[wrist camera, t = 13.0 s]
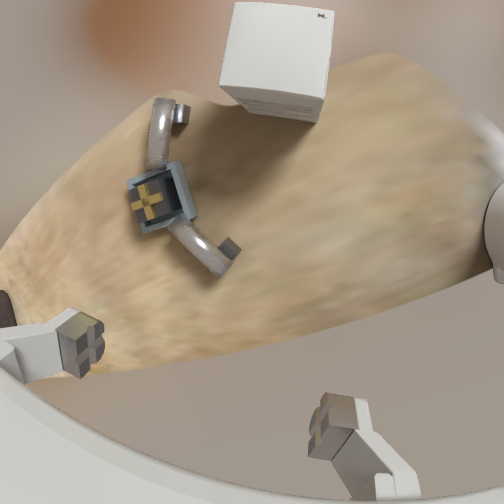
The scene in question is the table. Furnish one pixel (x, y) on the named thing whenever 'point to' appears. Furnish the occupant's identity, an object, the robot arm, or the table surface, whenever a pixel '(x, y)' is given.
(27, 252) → the table surface
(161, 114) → the shaft
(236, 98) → the supplement box
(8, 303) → the perforated stone tool
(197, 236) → the shaft
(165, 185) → the block
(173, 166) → the housing
